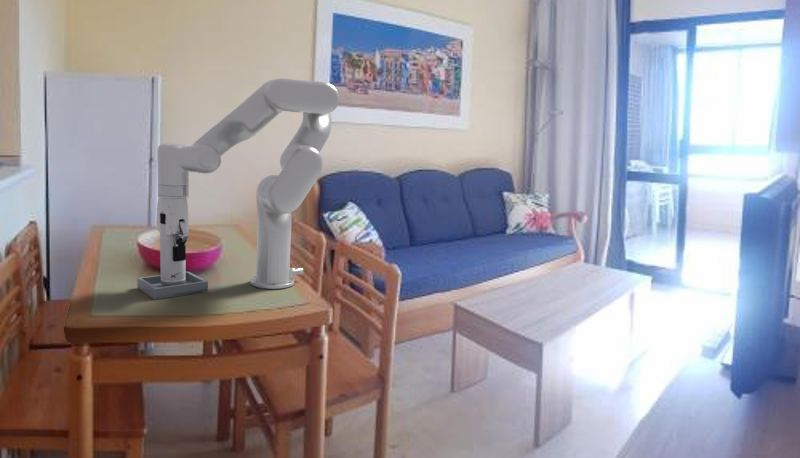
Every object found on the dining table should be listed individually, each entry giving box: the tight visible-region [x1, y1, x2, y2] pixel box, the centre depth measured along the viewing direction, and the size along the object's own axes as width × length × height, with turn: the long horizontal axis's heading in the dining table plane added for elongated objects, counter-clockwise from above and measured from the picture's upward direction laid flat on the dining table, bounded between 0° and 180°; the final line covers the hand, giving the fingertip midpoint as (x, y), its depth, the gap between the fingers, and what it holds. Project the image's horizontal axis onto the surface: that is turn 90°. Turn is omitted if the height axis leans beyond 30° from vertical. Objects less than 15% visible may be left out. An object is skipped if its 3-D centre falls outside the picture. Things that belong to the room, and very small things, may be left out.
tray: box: [136, 271, 209, 300], centre depth 151 cm, size 14×12×3 cm
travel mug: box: [159, 213, 187, 286], centre depth 150 cm, size 6×7×20 cm
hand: (173, 257), depth 150 cm, fingers closed on travel mug, 6 cm apart
